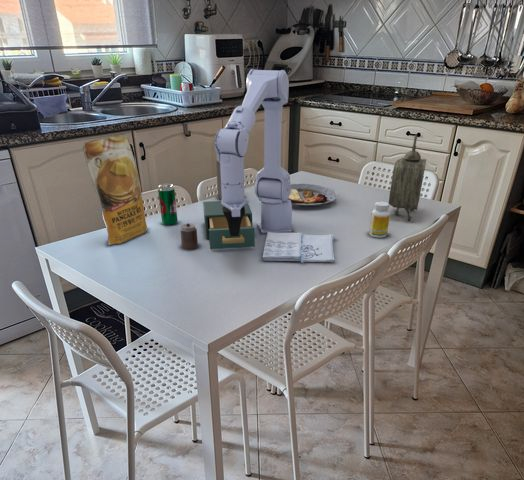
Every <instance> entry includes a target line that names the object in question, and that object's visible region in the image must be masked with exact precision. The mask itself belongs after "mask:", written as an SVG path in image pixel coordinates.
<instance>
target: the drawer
mask: <svg viewBox="0 0 524 480" xmlns="http://www.w3.org/2000/svg"><path fill="white" fill-rule="evenodd" d="M209 225H210V229H209V239H208V240H209V249H210V250H220V249H221V250H223V249H237V248H238V249H239V248H255V246H256V237H255V236H256V234H255V233H256V231H255V230H256V229H255V226H252V227H251V223H250V220H249V218H248V216H243V218H242V221H241V226H240V232H239V236H231V235H230V232H229V227H228V222H227V219H226V217H210V218H209Z"/></svg>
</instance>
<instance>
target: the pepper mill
mask: <svg viewBox="0 0 524 480" xmlns="http://www.w3.org/2000/svg"><path fill="white" fill-rule="evenodd" d="M197 229H198V228H197V227H196V224H194V223H183V224H181V226H180V230H179V232H180V239H181V240H180V241H181V248H182V249H183V250H187V251H188V250H189V251H191V250H195V249H198V247H199V242H198V231H197Z"/></svg>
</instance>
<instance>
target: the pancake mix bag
mask: <svg viewBox="0 0 524 480" xmlns="http://www.w3.org/2000/svg"><path fill="white" fill-rule="evenodd" d="M82 151H83V155H84V159H85V162H86V166H87V168H88V171H89V173H90V174H89V175H90V177H91V182H92V185H93V188H94V190H95V194H96V195H97V197H98V199H99V203H100V208H101V211H102V217H103V220H104V222H105V225H106V230H107V234H108V235H107V243H108V244H107V245H108V246H113V245H121V244H124V243H126V242H128V241H131V240H133V239H135V238H137V237H140V236H142V235H144V234H146V233H147V229H148V225H147V221H146V214H145V213H146V212H145V206H144V201H143V200H144V199H143V195H142V186H141V181H140V177H139V171H138V167H137V163H136V160H135V157H134V153H133V150H132V146H131V143H130V140H129V137H128V135H126V133H119V134H115V135H111V136H106V137H105V136H104V137H100V138H97V139H93V140H90V141H86V142H84V144H83V146H82Z"/></svg>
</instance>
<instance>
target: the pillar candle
mask: <svg viewBox="0 0 524 480" xmlns="http://www.w3.org/2000/svg"><path fill="white" fill-rule="evenodd" d="M215 164H216V165H215V167H216V188H217V189H216V190H217V199H219V201H221V200H222V191H221V171H220V163H219V162H218V157H216V158H215Z"/></svg>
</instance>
